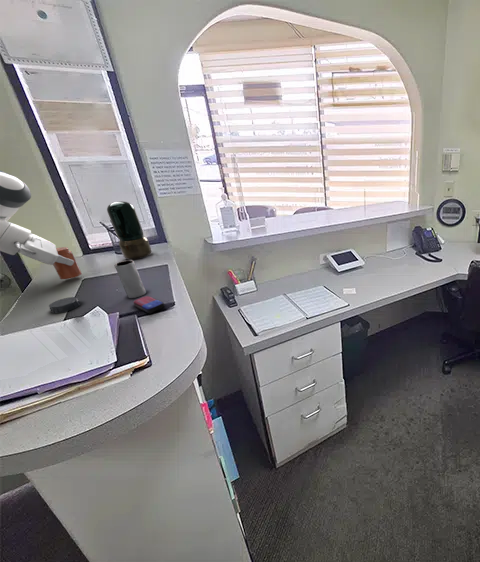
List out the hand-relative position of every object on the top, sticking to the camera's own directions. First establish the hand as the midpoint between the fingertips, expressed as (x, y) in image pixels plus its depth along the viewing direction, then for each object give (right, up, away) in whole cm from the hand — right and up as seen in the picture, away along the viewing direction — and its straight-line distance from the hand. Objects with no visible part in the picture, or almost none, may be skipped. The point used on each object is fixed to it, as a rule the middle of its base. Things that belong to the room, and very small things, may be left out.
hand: (72, 261), depth 104 cm
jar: (-1, -5, +1) cm, 5 cm away
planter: (+31, -11, -12) cm, 35 cm away
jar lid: (+16, -13, -18) cm, 28 cm away
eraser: (+41, -14, -20) cm, 47 cm away
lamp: (+6, +3, +21) cm, 23 cm away
